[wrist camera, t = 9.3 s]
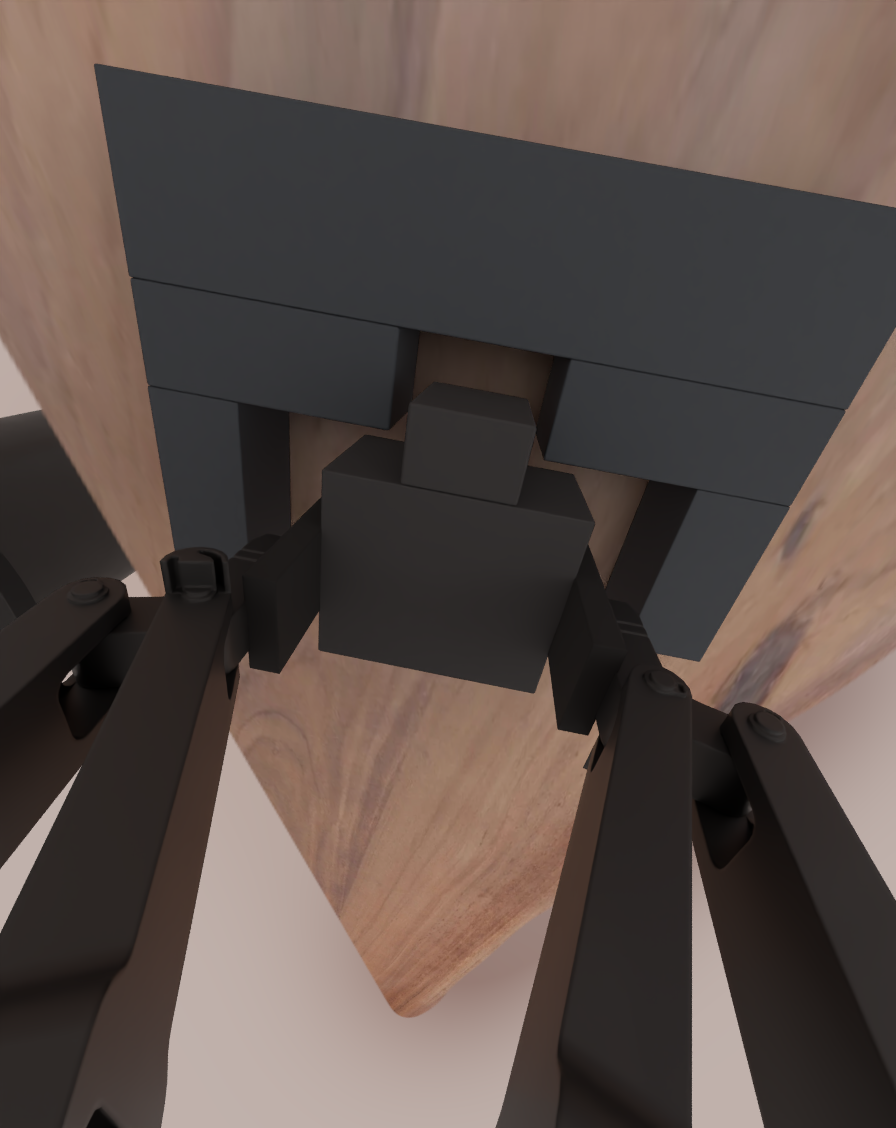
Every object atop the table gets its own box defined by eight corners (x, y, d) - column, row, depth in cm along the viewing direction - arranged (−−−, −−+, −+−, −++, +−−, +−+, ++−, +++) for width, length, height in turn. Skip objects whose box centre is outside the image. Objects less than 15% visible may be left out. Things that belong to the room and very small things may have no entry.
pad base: (229, 520, 21) (175, 561, 18) (192, 124, 14) (92, 61, 11) (666, 604, 21) (699, 662, 17) (845, 243, 14) (960, 219, 10)
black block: (354, 585, 18) (317, 650, 14) (368, 368, 14) (323, 385, 10) (528, 619, 17) (534, 694, 14) (593, 411, 14) (624, 442, 10)
